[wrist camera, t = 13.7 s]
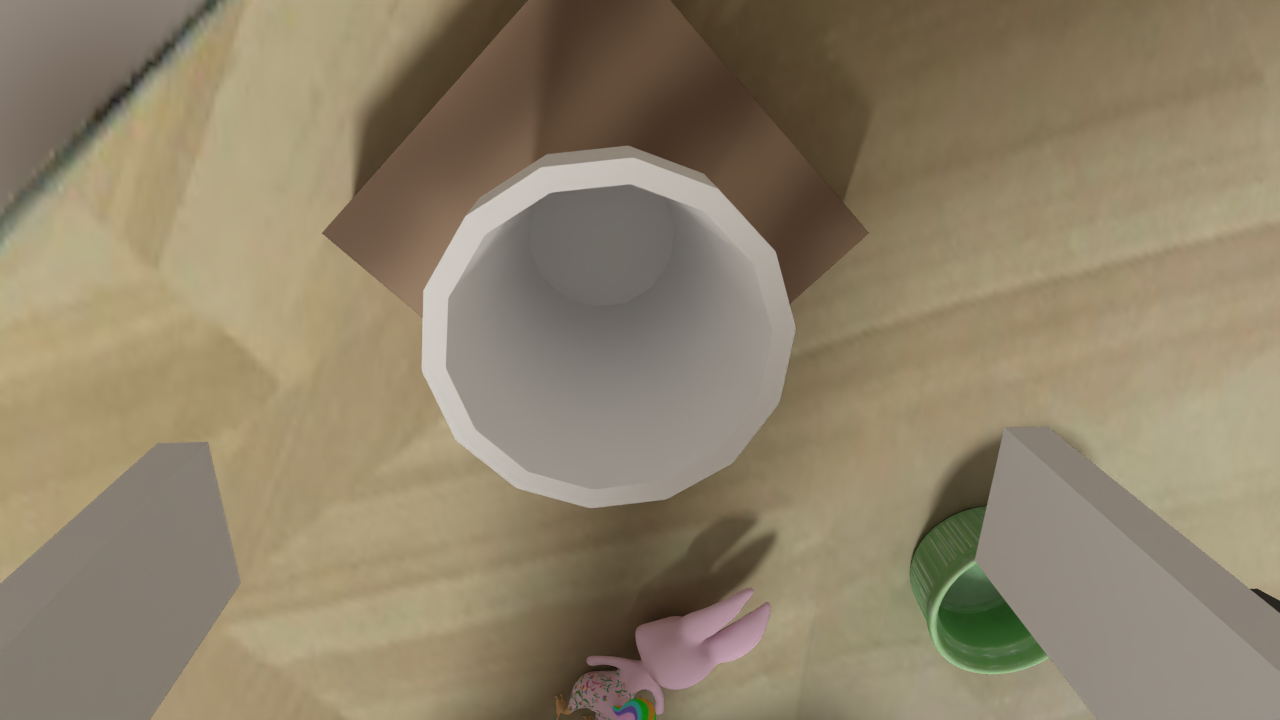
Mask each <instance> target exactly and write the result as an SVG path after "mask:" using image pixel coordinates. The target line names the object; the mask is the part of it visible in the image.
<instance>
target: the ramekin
mask: <svg viewBox="0 0 1280 720" xmlns="http://www.w3.org/2000/svg"><path fill="white" fill-rule="evenodd" d="M986 508H987V506H984V507H977V508H972V509H969V510H965V511H962V512H960V513H957V514H955V515H953V516H951V517H949V518H947V519H946V520H944V521H943V522H941V523H940V524H938V525H937V526H936V527H934V528H933V529H932V530H931V531H930V532H929V533H928V534H927V535H926V536H925V537H924V539H923V540H922V541H921V543H920V544H919V546H918V548H917V549H916V551H915V554H914V556H913V559H912V563H911V566H910V581H911V586H912V590H913V592H914V595H915V597H916V599H917V601H918V603H919V606H920V608H921V610H922V612H923V614H924V616H925V618H926V621H927V626H928V630H929V633H930V636H931V639H932V641H933V643H934V645H935V647H936V649H937V650H938V651H939V653H940V654H941V655H942V656H943V657H944V658H945V659H946V660H948V661H949V662H950V663H952V664H953V665H955V666H957V667H959V668H961V669H964V670H967V671H971V672H975V673H982V674H1003V673H1011V672H1015V671H1019V670H1023V669H1026V668H1029V667H1032V666H1034V665H1037V664H1039V663H1041V662H1043V661H1045V660H1047V659H1048V658H1049V657H1048V655H1047V654H1046V653H1045V652H1044V650H1043V649H1042V648H1041V646H1040V645H1039V644H1038V642H1037V641H1036V640H1035V639H1034V637H1033V636H1032V635H1031V633H1030V632H1029V631H1028V629H1027V628H1026V627H1025V626H1024V624H1023V623H1022V622H1021V620H1020V619H1019V618H1018V616H1017V615H1016V614H1015V613H1014V611H1013V610H1012V609H1011V607H1010V606H1009V605H1008V603H1007V602H1006V601H1005V600H1004V598H1003V597H1002V596H1001V594H1000V593H999V592H998V590H997V589H996V588H995V587H994V585H993V584H992V583H991V581H990V580H989V579H988V577H987V576H986V575H985V574H984V572H983V571H982V570H981V568H980V567H979V566H978V564H977V563H976V562H975V557H976V552H977V548H978V543H979V539H980V534H981V530H982V525H983V521H984V516H985V512H986Z"/></svg>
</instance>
